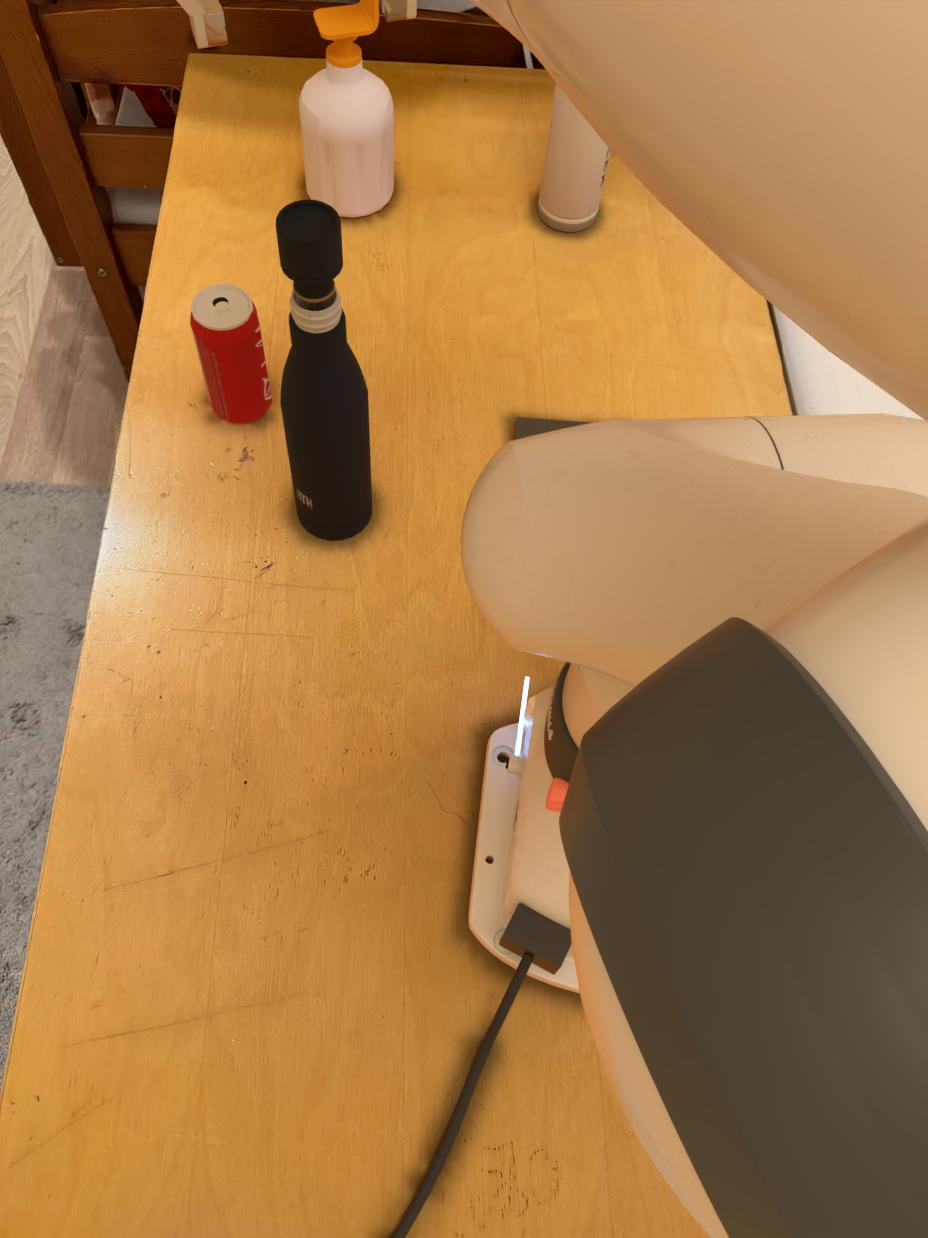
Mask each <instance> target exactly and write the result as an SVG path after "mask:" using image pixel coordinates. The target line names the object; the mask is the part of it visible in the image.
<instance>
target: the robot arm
mask: <svg viewBox="0 0 928 1238" xmlns="http://www.w3.org/2000/svg"><path fill="white" fill-rule="evenodd" d="M175 1H176V2H177V3H178V4H179V6H180V7H181V8H182V9H183V10H184V12H186V14H187V15H188V17H189V22H190V27H191V31H192V35H193V39H194V41H195V44H196V47H197V49H199V50H200V49H206V48H213V47H220V46H225V45H229V40H228V39H229V38H228V34H227V31H226V19H225V13H224V10H223V7H222V4H221V2H220V0H175ZM468 1H469V2H471V3H472V5H474V6H476V7H477V8H479V9H480V10H481V11H483V12H484V13H485V14H486V15H488V16H489V17H490V18H491V19H492V20H494V21H495V22H496V23H498V25H500V26H501V27H503V28H504V29H505V30H506V31H507V32H508V33H510V34H511V35H512V36H513V37H514V38H515V39H517V40H518V41H519V42H520V43H521V44H522V45H523V46H524V47H525V48H526V49H527V50H529V52H530V53H532V55H533V56H534V57H535V58H536V59H537V61H538V62H539V64H541V65H542V66H543V68H544V70H546V71H547V73H548V75H549V76H550V77H551V78H552V79H553V81H554V82H555V85H556V84H557V85H558V86H559V87H560V89H561V90H562V91H563V92H564V94H565V95H566V96H567V97H568V99H569V100H570V101H571V102H572V104H573V105H574V106H575V107H576V108H577V110H578V111H579V112H580V113H581V115H582V116H583V117H584V118H585V120H586V121H587V122H588V123H589V125H590V126H591V127H592V128H593V129H594V131H595V132H596V133H597V134H598V136H599V137H600V138H601V139H602V141H603V142H604V143H605V144H606V145H607V146H608V147H609V148H610V149H611V152H612V153H613V154H614V155H615V156H616V157H617V158H618V159H619V160H620V161H621V162H622V164H623V165H624V166H625V167H626V168H627V169H628V170H629V172H631V173H632V174H633V176H635V178H636V179H637V180H638V181H639V182H640V183H641V184H642V185H643V186H644V188H646V189H647V190H648V192H650V193H651V195H653V197H654V198H655V199H656V200H657V201H658V202H659V203H660V204H661V205H662V206H663V207H664V208H665V209H666V210H668V211H669V213H671V214H672V215H673V216H674V217H675V218H676V219H677V220H678V221H679V222H680V223H682V225H684V226H685V228H687V229H688V230H689V231H690V232H691V233H692V234H693V235H694V236H695V237H696V238H697V239H699V240H700V241H701V242H702V244H704V245H705V246H706V248H708V249H709V250H710V251H711V252H712V253H714V254H715V256H717V257H718V259H720V260H721V261H722V262H723V263H724V264H725V265H726V266H727V267H729V268H730V270H732V271H733V272H734V273H735V274H736V275H737V276H738V277H739V278H740V279H742V280H743V281H744V282H745V283H746V284H747V285H748V286H749V287H751V289H753V290H754V291H755V292H756V293H757V294H759V295H760V296H761V297H763V298H764V299H765V300H766V301H767V302H769V303H770V304H771V305H773V306H774V308H776V309H777V310H778V311H780V312H781V313H782V314H783V315H784V316H786V317H787V318H788V319H789V320H791V321H792V322H793V323H794V324H795V325H797V327H799V328H800V329H801V330H802V331H804V332H805V333H806V334H808V335H809V336H810V337H811V338H812V339H814V340H815V341H816V342H817V343H818V344H819V345H821V346H822V347H823V348H825V350H826V351H828V352H829V353H831V354H832V355H833V356H834V357H836V358H838V359H839V360H841V362H843V363H844V364H846V365H848V366H849V367H850V368H852V369H853V370H855V371H856V372H857V373H858V374H860V375H862V376H863V377H864V378H865V379H867V380H869V381H870V382H871V383H873V384H874V385H875V386H876V387H878V388H879V389H881V390H882V391H884V392H885V393H886V394H887V395H889V396H891V398H894V400H896V401H898V402H899V403H900V404H902V405H903V406H905V407H906V408H908V409H909V410H910V411H912V412H913V414H915V415H916V416H918V417H919V418H913V417H908V416H901V415H896V414H891V413H884V412H883V413H881V412H879V413H844V414H843V413H841V414H803V415H802V414H801V415H800V414H799V415H797V414H796V415H756V416H755V415H753V416H752V415H751V416H749V415H748V416H747V415H746V416H728V417H727V416H726V417H725V416H723V417H719V416H717V417H688V418H687V417H676V418H634V419H633V418H632V419H631V418H630V419H606V420H601V421H600V420H599V421H596V422H595V421H594V422H592V423H589V424H583V425H578V426H574V427H569V428H564V429H559V430H555V431H550V432H546V433H542V434H537V435H533V436H529V437H525V438H521V439H517V440H515V439H513V440H509V441H507V442H506V443H504V444H503V445H502V446H501V447H500V448H499V449H498V450H497V451H496V452H495V453H494V455H493V456H492V457H491V458H490V459H489V461H488V462H487V463H486V464H485V466H484V468H483V469H482V470H481V472H480V474H479V476H477V479H476V481H475V483H474V485H473V487H472V489H471V491H470V494H469V496H468V499H467V502H466V505H465V508H464V513H463V517H462V522H461V530H460V531H461V532H460V558H461V566H462V571H463V575H464V579H465V582H466V585H467V589H468V591H469V594H470V597H471V598H472V600H473V603H474V605H475V606H476V608H477V610H478V611H479V614H480V615H481V617H482V618H483V620H484V621H485V622H486V624H487V626H488V627H489V629H491V630H492V631H493V632H494V633H495V635H496V636H497V637H498V638H499V639H501V641H503V643H505V644H506V646H508V647H509V648H510V649H512V650H514V651H518V652H523V653H527V654H532V655H536V656H541V657H546V658H550V659H553V660H557V661H561V662H564V665H562V667H561V669H560V670H559V672H558V673H557V677H556V679H555V681H554V683H553V685H552V686H550V687H548V688H546V689H544V690H541V691H539V692H537V693H535V694H534V695H532V696H530V697H529V698H528V692H529V686H530V676H524V683H523V690H522V698H521V705H520V713H519V721H518V722H516V723H511V724H507V725H504V726H502V727H499V728H498V729H495V730H494V731H493V732H492V733H491V735H490V736H489V739H488V741H487V744H486V751H485V760H484V767H483V778H482V786H481V794H480V795H481V796H480V803H479V804H480V805H479V813H478V821H477V832H476V841H475V850H474V858H473V868H472V876H471V886H470V894H469V904H468V913H467V924H468V928H469V930H470V932H471V934H473V936H474V937H475V939H476V940H477V941H478V942H479V943H480V944H481V945H482V946H483V948H485V949H486V950H487V951H488V952H490V954H491V955H492V956H494V957H495V958H497V959H498V960H499V961H501V962H502V963H504V964H505V965H507V966H509V967H510V968H512V969H514V970H515V971H514V974H513V976H512V978H511V980H510V982H509V984H508V986H507V988H506V991H505V993H504V995H503V997H502V999H501V1001H500V1003H499V1006H497V1007H498V1008H497V1010H496V1012H495V1014H494V1016H493V1018H492V1020H491V1022H490V1024H489V1026H488V1028H487V1030H486V1033H485V1034H484V1036H483V1039H482V1041H481V1042H480V1046H479V1047H478V1050H477V1052H476V1055H475V1057H474V1059H473V1062H472V1064H471V1067H470V1069H469V1072H468V1074H467V1077H466V1079H465V1082H464V1084H463V1087H462V1090H461V1093H460V1094H459V1097H458V1100H457V1102H456V1105H455V1108H454V1110H453V1113H452V1115H451V1117H450V1121H449V1123H448V1125H447V1127H446V1131H445V1133H444V1135H443V1137H442V1140H441V1141H440V1144H439V1146H438V1149H437V1150H436V1153H435V1155H434V1157H433V1158H432V1162H431V1164H430V1165H429V1167H428V1170H427V1172H426V1174H425V1176H424V1178H423V1180H422V1181H421V1184H420V1186H419V1188H418V1189H417V1191H416V1193H415V1195H414V1197H413V1198H412V1201H411V1203H410V1204H409V1206H408V1208H407V1209H406V1212H404V1214H403V1216H402V1219H401V1220H400V1222H399V1224H398V1225H397V1226H396V1229H395V1230H394V1232H393V1233H392V1235H391V1237H390V1238H407V1235H408V1233H410V1230H411V1228H412V1227H413V1225H414V1223H415V1221H416V1219H418V1216H419V1214H420V1212H421V1211H422V1209H423V1207H424V1206H425V1203H426V1201H427V1199H429V1198H428V1197H429V1195H430V1194H431V1191H432V1189H433V1188H434V1186H435V1184H436V1182H437V1180H438V1178H439V1176H440V1174H441V1172H442V1169H443V1167H444V1166H445V1164H446V1161H447V1159H448V1157H449V1154H450V1152H451V1150H452V1148H453V1144H454V1143H455V1140H456V1139H457V1138H456V1137H457V1135H458V1134H459V1130H460V1129H461V1128H460V1127H461V1126H462V1122H463V1121H464V1118H465V1115H466V1112H467V1110H468V1107H469V1104H470V1102H471V1099H472V1096H473V1095H474V1091H475V1088H476V1087H477V1083H478V1081H479V1079H480V1076H481V1073H482V1071H483V1068H484V1066H485V1064H486V1061H487V1059H488V1056H489V1054H490V1052H491V1049H492V1048H493V1046H494V1043H495V1041H496V1038H497V1036H498V1034H499V1032H500V1031H501V1028H502V1027H503V1024H504V1023H505V1020H506V1018H507V1017H508V1015H509V1012H510V1010H511V1008H512V1006H513V1004H514V1001H515V999H516V998H517V995H518V993H519V991H520V989H521V988H522V984H523V982H524V980H525V978H526V976H528V977H530V978H532V979H535V980H537V981H540V982H542V983H545V984H547V985H549V986H553V987H556V988H559V989H562V990H566V991H569V992H571V993H572V992H573V993H576V994H579V995H580V1000H581V1004H582V1009H583V1012H584V1015H585V1018H586V1022H587V1026H588V1028H589V1031H590V1034H591V1037H592V1040H593V1043H594V1046H595V1049H596V1051H597V1054H598V1058H599V1060H600V1062H601V1063H600V1064H601V1065H602V1068H603V1071H604V1073H605V1075H606V1078H607V1080H608V1083H609V1085H610V1087H611V1089H612V1091H613V1093H614V1095H615V1097H616V1099H617V1101H618V1103H619V1105H620V1107H621V1109H622V1111H623V1114H624V1116H625V1117H626V1119H627V1121H628V1124H629V1125H630V1127H631V1130H632V1131H633V1133H634V1135H635V1137H636V1138H637V1140H638V1143H639V1144H640V1145H641V1147H642V1148H643V1150H644V1151H645V1153H646V1155H647V1156H648V1158H649V1159H650V1160H651V1162H652V1164H653V1165H654V1166H655V1168H656V1169H657V1171H658V1172H659V1174H660V1175H661V1177H662V1178H663V1179H664V1181H665V1182H666V1184H667V1185H668V1187H669V1188H670V1190H671V1191H672V1192H673V1194H674V1195H675V1197H676V1198H677V1200H678V1201H679V1202H680V1204H682V1206H683V1207H684V1209H686V1210H687V1212H688V1213H689V1214H690V1215H691V1216H692V1218H694V1219H695V1221H696V1222H697V1223H698V1224H699V1225H700V1227H701V1228H702V1229H703V1230H704V1231H705V1232H706V1233H707V1235H708V1236H709V1237H710V1238H928V0H468ZM417 5H418V0H379V9H380V11H381V13H382V14H384V19H385V21H386V23H391V22H397V21H398V22H399V21H406V20H413V19H416V18H417V12H418V11H417V7H418V6H417ZM500 756H503V757H505V758H506V759H505V760H506V761H505V762H501V761H499V759H498V757H500ZM486 860H490V861H491V863H489V862H487V861H486Z"/></svg>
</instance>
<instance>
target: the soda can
mask: <svg viewBox="0 0 928 1238" xmlns="http://www.w3.org/2000/svg"><path fill="white" fill-rule="evenodd" d="M189 325H190V329H191V333H192V337H193V340H194V345H195V349H196V354H197V356H198V360H199V365H200V369H201V373H202V377H203V381H204V385H205V389H206V393H207V397H208V401H209V404H210V406H211V409H212V411H213V413H214V414H215V415H216V416H217V417H219V419H221V420H223V421H225V422H228V423H232V424H248V423H252V422H254V421H256V420H259V419H260V418H262V417H264V416H265V415H266V414H267V412H268V410H269V409H270V407H271V405H272V403H273V397H272V392H271V390H272V389H271V385H270V379H269V374H268V367H267V360H266V355H265V354H266V353H265V349H264V343H263V337H262V331H261V324H260V319H259V314H258V309H257V307H256V305H255V303H254V301H253V299H252V297H251V295H250V293H249V292H248V291H247V290H246V289H245V288H243V287H241V286H239V285H236V284H233V283H226V282H225V283H215V284H211V285H208V286H206V287H203V288H202V289H200V290H199V291H198V292H197V293H196V294H195V295H194V296H193V298H192V302H191V304H190V321H189Z"/></svg>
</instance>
